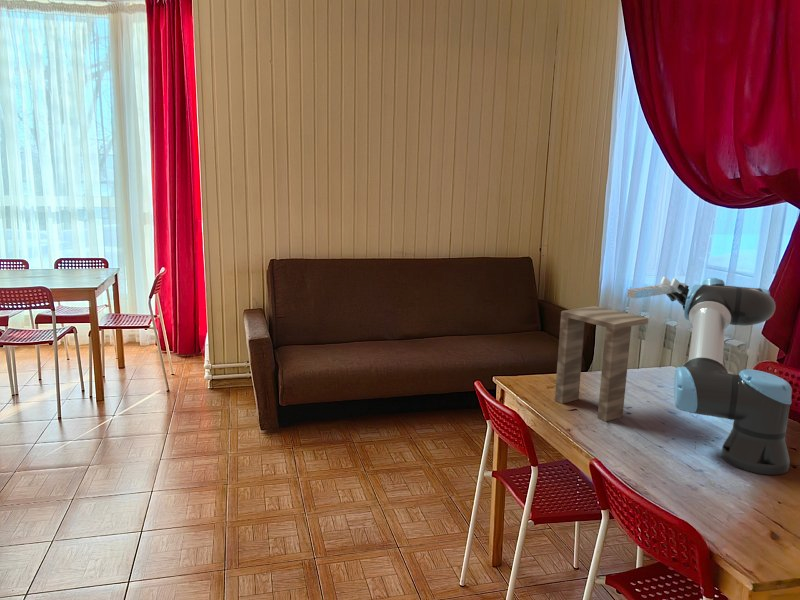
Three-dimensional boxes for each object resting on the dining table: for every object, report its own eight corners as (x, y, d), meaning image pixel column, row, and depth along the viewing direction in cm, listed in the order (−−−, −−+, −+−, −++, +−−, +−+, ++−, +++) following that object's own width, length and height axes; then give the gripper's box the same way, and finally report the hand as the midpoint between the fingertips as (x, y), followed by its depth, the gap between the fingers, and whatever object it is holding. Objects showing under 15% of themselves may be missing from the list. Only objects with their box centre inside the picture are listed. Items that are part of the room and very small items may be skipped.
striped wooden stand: (638, 411, 188) (648, 318, 182) (605, 421, 179) (614, 324, 173) (587, 392, 204) (594, 306, 198) (554, 400, 195) (561, 311, 189)
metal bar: (685, 290, 206) (686, 283, 205) (635, 298, 191) (635, 290, 190) (677, 289, 208) (678, 282, 208) (627, 297, 193) (627, 289, 193)
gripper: (715, 322, 208) (685, 294, 195) (672, 313, 221) (642, 287, 208) (723, 303, 209) (694, 274, 195) (680, 295, 222) (650, 267, 208)
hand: (667, 281), depth 202 cm, fingers closed on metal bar, 3 cm apart
